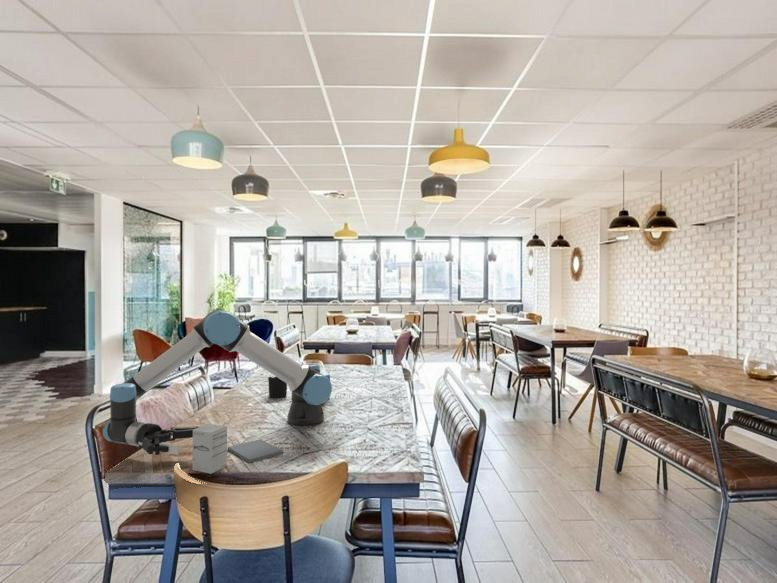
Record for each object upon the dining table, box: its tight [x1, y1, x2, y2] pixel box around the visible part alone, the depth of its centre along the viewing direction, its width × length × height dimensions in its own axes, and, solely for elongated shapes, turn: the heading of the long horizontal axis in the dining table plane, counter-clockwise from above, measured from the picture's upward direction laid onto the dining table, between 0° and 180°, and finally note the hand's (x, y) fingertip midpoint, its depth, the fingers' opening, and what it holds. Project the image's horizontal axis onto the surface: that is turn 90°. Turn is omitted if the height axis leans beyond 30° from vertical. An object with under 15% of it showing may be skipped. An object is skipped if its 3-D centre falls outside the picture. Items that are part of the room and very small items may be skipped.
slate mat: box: [227, 438, 284, 463], centre depth 157 cm, size 16×12×1 cm
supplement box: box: [192, 423, 228, 475], centre depth 143 cm, size 7×7×13 cm
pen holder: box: [267, 376, 288, 399], centre depth 237 cm, size 9×9×10 cm
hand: (195, 442), depth 144 cm, fingers open, 13 cm apart
